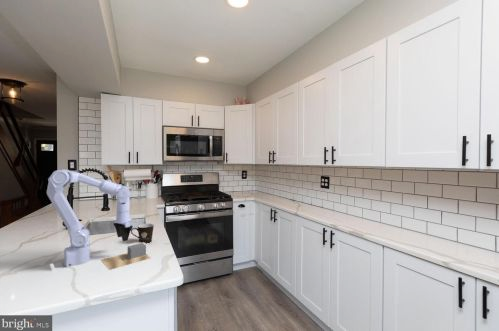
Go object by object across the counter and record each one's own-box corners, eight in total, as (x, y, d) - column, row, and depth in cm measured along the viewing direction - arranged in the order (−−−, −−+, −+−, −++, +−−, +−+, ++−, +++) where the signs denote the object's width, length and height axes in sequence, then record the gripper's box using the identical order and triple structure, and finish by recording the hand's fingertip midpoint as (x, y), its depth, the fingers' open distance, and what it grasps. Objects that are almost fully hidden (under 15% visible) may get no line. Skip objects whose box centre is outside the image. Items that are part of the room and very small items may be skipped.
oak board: (109, 272, 100) (109, 269, 100) (100, 262, 110) (100, 259, 110) (151, 260, 113) (151, 257, 113) (140, 252, 122) (140, 249, 122)
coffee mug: (156, 240, 140) (156, 224, 140) (146, 245, 132) (146, 228, 131) (140, 238, 143) (140, 222, 143) (129, 243, 135) (129, 226, 135)
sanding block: (130, 259, 110) (130, 248, 110) (127, 256, 114) (127, 246, 113) (145, 255, 115) (146, 245, 115) (142, 252, 119) (142, 243, 118)
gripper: (136, 212, 113) (136, 240, 113) (126, 207, 123) (126, 233, 123) (120, 214, 108) (120, 244, 108) (111, 209, 118) (111, 236, 118)
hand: (122, 238), depth 115 cm, fingers open, 7 cm apart
